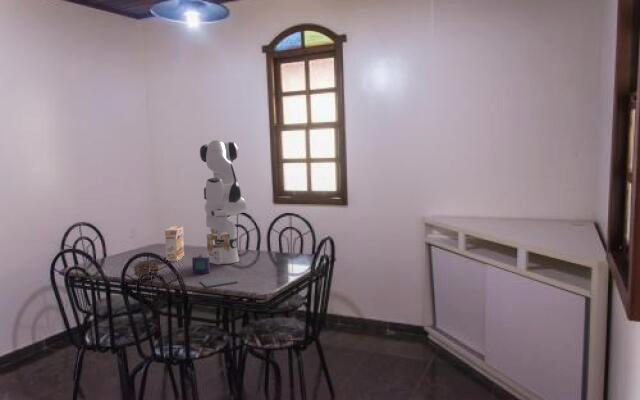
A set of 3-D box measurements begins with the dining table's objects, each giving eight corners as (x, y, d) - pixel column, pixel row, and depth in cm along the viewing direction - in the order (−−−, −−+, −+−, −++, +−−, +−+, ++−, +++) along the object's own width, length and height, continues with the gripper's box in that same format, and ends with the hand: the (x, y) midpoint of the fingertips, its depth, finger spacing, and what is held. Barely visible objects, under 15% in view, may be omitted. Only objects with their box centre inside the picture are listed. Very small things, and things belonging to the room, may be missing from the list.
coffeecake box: (177, 261, 282) (176, 230, 280) (165, 261, 282) (164, 230, 280) (184, 256, 297) (183, 226, 295) (173, 256, 297) (172, 226, 295)
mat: (229, 277, 246) (229, 276, 246) (237, 282, 236) (237, 281, 236) (199, 282, 237) (199, 280, 237) (206, 287, 228) (206, 286, 228)
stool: (225, 232, 239) (206, 234, 234) (229, 234, 235) (210, 236, 229) (226, 249, 240) (207, 252, 235) (230, 251, 236) (210, 254, 230)
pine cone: (141, 283, 236) (140, 264, 235) (129, 280, 241) (128, 262, 240) (175, 273, 255) (175, 255, 254) (164, 271, 260) (163, 253, 259)
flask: (210, 272, 257) (209, 253, 256) (209, 273, 255) (208, 254, 253) (193, 272, 257) (192, 253, 255) (192, 274, 254) (191, 254, 253)
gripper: (202, 209, 240) (203, 235, 241) (215, 213, 222) (216, 242, 224) (214, 208, 243) (215, 234, 244) (228, 212, 226) (229, 240, 227)
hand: (216, 238), depth 234 cm, fingers closed on stool, 5 cm apart
